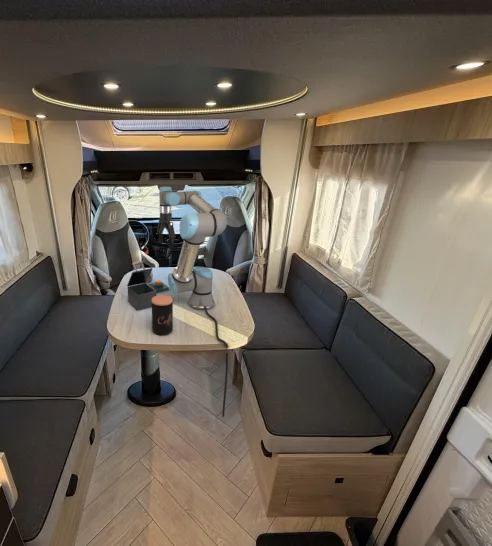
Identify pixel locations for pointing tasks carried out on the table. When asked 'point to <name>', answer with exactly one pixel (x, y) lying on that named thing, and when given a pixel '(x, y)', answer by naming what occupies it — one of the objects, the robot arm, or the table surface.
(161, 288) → the control block
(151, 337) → the table surface
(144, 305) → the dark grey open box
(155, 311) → the coffee jar
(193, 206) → the robot arm
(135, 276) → the box lid
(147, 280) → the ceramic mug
